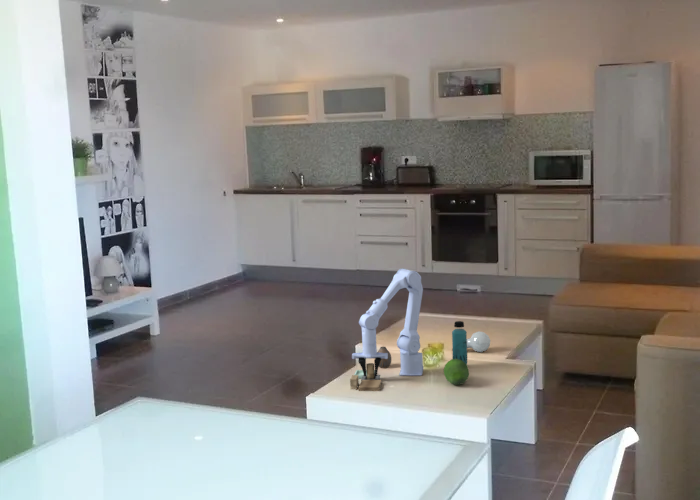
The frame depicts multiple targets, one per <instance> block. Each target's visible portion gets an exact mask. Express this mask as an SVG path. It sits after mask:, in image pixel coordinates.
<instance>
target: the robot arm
mask: <svg viewBox="0 0 700 500" xmlns="http://www.w3.org/2000/svg"><path fill="white" fill-rule="evenodd" d="M418 272H419V271H418ZM418 272H417V271H416V270H411V269H407V268H399V269H398V270H397V272H396V273H395V274H394V275H393V278H392V280H391V282H390V284H389V285H388V287H387V288H386V290H385V291H384V293H383V294H382V296H381V297H380V298H376V299H375V300H373V301H372V305H371V306H370V307H369V308H368V310H366V311H365V313H363V314H362V315H361V316H360V318H359V320H358V324H359V326H360V328H361V342H362V343H361V344H362V352H353V353H352V354H351V359H352V360H355V359H358V360H357V361H358V363H359V366H360V367H361V370H363V373H364V376H366V370H367V368H366V364H367V361H366V360H367V359H374V361H373V362H374V363H373V364H374V370H375V376H377V375H378V372H379V368H380V367H379V364H380V361H381V359H382V358H385V359H387V358H388V353H378V351H377V350H378V349H377V327H378V326H379V324H380V323H379V322H380V319H381V317H382V316H383V314H384V313H385V312H386V310H387V309H388V308H389V307H388V304H389V302H390V301H391V300H392V298H394V296H395V295H396V294H397V293H398V292H399V290H401V289H406V290H407V291H408V292H409V293H408V298H407V299H408V300H407V306H406V312H405V317H404V318H405V320H404V326H403V328H402V330H401V331H400V333H399V336H398V338H397V340H396V345H397V348H398V349H399V352H400V353H399V355H400V370H399V374H398V375H399V376H418V377H419V376H423V372H424V361H423V359H424V358H423V353H422V352H420V350H421V343H420V342H421V341H420V338H421V337H420V334H419V333H418V327H419V325H418V324H419V319H420V312H421V306H422V299H423V292H424V287H423V284H422V276H421V275H420V274H419V273H418Z"/></svg>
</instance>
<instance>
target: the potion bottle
mask: <svg viewBox="0 0 700 500" xmlns="http://www.w3.org/2000/svg"><path fill="white" fill-rule="evenodd" d="M490 346H491V339H490V336H489V335H488V334H487V333H486V332H484V331H475V332H473V333H472V334H471V337H470V338H468V337H467V349H472V350H473V351H475V352H476V351H477V353H483V351H484V352H485V351H487V350H488V349H489V347H490Z"/></svg>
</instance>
